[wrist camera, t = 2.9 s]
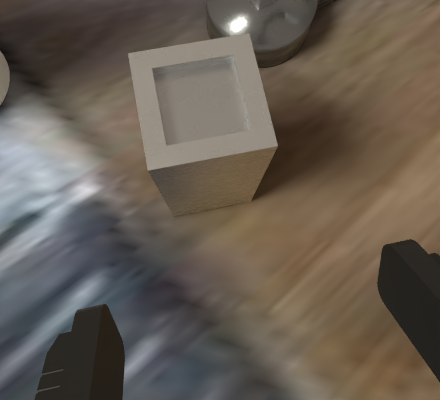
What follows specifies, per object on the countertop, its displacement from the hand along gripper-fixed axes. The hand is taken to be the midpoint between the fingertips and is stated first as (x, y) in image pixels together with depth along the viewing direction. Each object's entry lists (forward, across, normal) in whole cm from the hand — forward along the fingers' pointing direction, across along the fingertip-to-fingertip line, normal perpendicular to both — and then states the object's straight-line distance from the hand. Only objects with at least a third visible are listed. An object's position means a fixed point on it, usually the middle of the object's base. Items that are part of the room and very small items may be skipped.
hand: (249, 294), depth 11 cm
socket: (+13, 0, +3) cm, 13 cm away
